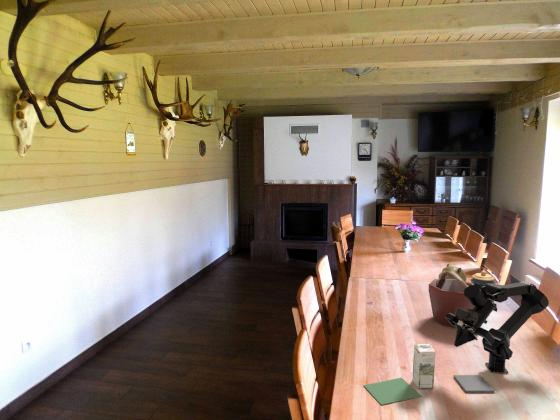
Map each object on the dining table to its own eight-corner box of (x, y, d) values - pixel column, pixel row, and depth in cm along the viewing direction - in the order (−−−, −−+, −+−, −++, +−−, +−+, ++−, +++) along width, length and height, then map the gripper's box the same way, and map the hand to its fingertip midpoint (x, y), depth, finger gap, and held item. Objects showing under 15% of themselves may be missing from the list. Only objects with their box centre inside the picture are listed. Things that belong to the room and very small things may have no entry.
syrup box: (427, 379, 148) (429, 343, 146) (434, 389, 142) (435, 350, 140) (412, 380, 148) (413, 343, 146) (418, 389, 142) (419, 351, 140)
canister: (488, 297, 233) (490, 268, 230) (498, 305, 220) (500, 274, 217) (465, 296, 234) (467, 267, 232) (474, 304, 221) (476, 274, 219)
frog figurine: (432, 280, 265) (434, 262, 264) (454, 279, 271) (456, 262, 270) (446, 286, 252) (448, 268, 251) (469, 285, 258) (471, 268, 257)
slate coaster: (453, 377, 150) (453, 375, 149) (480, 376, 149) (480, 374, 149) (465, 392, 140) (465, 390, 140) (494, 392, 139) (494, 390, 139)
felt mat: (401, 378, 149) (401, 377, 149) (421, 396, 138) (421, 395, 138) (363, 386, 144) (363, 385, 144) (381, 405, 133) (381, 404, 133)
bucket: (481, 333, 186) (484, 281, 183) (431, 329, 190) (433, 279, 187) (467, 313, 210) (470, 267, 206) (423, 310, 214) (425, 265, 211)
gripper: (449, 292, 153) (425, 323, 151) (490, 309, 136) (464, 345, 134) (464, 308, 157) (441, 339, 155) (505, 327, 140) (480, 362, 137)
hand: (455, 346), depth 145 cm, fingers closed
